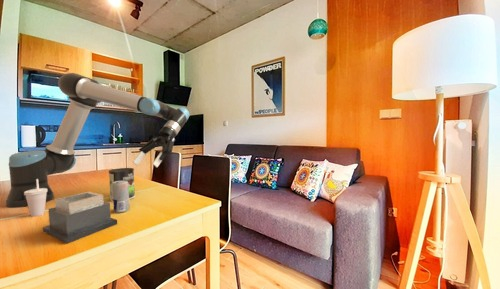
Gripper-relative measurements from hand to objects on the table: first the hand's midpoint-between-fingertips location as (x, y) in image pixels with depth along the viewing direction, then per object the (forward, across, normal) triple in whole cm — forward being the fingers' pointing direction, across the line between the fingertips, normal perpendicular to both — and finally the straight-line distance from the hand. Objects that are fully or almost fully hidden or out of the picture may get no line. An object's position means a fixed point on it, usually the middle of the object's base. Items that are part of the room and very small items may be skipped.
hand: (144, 164), depth 92 cm
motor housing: (+31, -3, +6) cm, 32 cm away
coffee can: (+13, +16, -11) cm, 23 cm away
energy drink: (+20, 0, -4) cm, 21 cm away
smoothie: (+32, +26, +8) cm, 42 cm away
